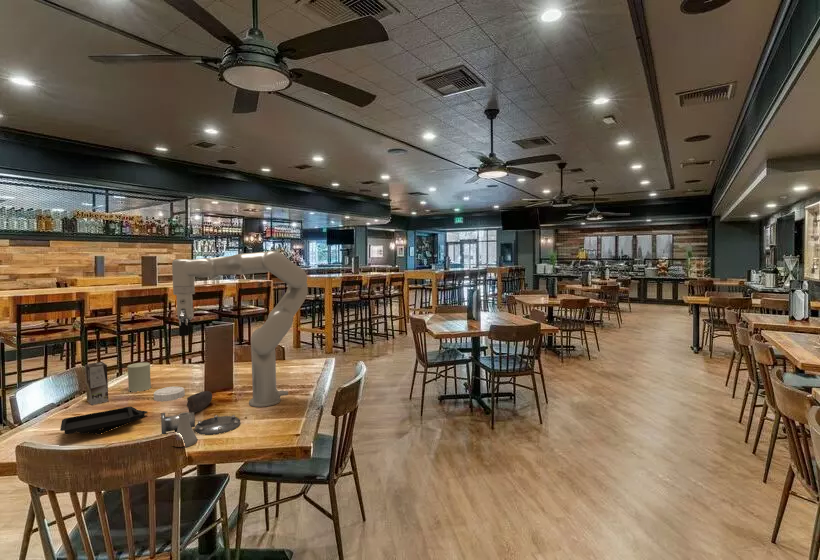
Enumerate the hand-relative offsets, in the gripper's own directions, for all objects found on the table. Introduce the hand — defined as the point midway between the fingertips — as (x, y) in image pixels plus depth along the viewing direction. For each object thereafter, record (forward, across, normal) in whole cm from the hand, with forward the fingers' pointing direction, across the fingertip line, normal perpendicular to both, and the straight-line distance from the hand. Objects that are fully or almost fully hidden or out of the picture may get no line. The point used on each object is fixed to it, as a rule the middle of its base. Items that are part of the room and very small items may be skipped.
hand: (185, 333), depth 170 cm
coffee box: (+32, +31, +38) cm, 58 cm away
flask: (+32, -33, -2) cm, 46 cm away
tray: (+32, -6, +26) cm, 42 cm away
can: (+32, +44, +24) cm, 59 cm away
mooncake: (+32, +24, +10) cm, 41 cm away
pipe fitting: (+31, -22, -6) cm, 39 cm away
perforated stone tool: (+32, +2, -4) cm, 32 cm away
